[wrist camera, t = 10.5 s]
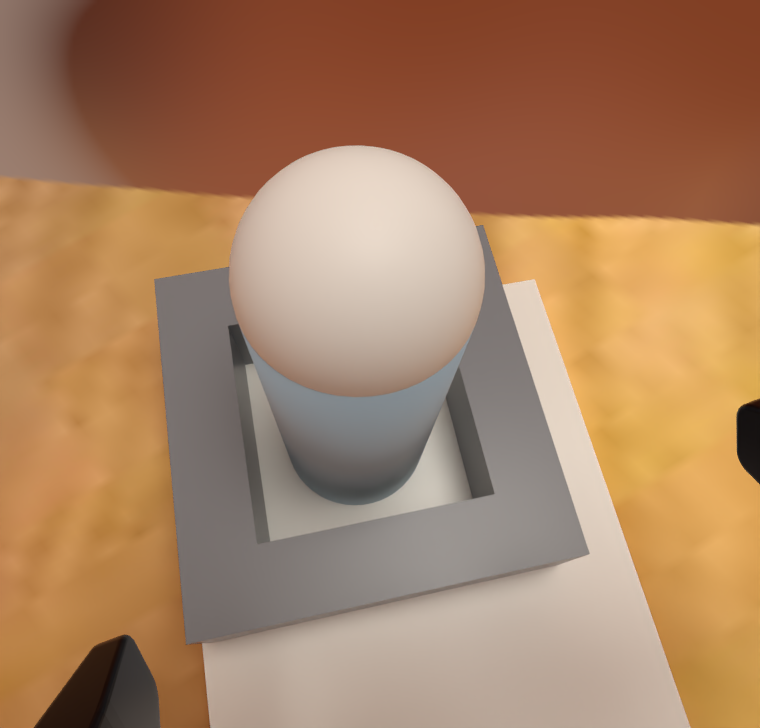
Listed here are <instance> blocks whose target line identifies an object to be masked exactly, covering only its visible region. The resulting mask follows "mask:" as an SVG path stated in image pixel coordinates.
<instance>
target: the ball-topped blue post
mask: <svg viewBox="0 0 760 728" xmlns="http://www.w3.org/2000/svg"><path fill="white" fill-rule="evenodd" d="M229 287H230V295H231V300H232V304H233V308H234V311H235V315H236V319H237V321H238V324H239V327H240V329H241V332H242V334H243V337H244V340H245V342H246V345H247V347H248V350H249V353H250V355H251V358H252V361H253V363H254V366H255V368H256V371H257V374H258V376H259V379H260V381H261V384H262V387H263V389H264V392H265V395H266V397H267V400H268V402H269V405H270V408H271V410H272V413H273V415H274V418H275V421H276V423H277V426H278V428H279V431H280V434H281V436H282V439H283V442H284V444H285V447H286V449H287V452H288V455H289V457H290V460H291V462H292V465H293V467H294V469H295V471H296V472H297V474H298V476H299V477H300V478H301V480H302V481H303V482H304V483H305V484H306V485H307V486H308V487H309V488H310V489H311V490H312V491H314V492H315V493H317V494H318V495H319V496H321V497H323V498H325V499H327V500H330V501H333V502H336V503H340V504H345V505H364V504H370V503H374V502H377V501H380V500H382V499H384V498H387V497H389V496H390V495H392V494H393V493H395V492H396V491H398V490H399V489H400V488H401V487H402V486H403V485H404V484H405V483H406V482H407V481H408V480H409V479H410V477H411V476H412V474H413V473H414V471H415V469H416V467H417V465H418V463H419V460H420V458H421V455H422V453H423V451H424V448H425V446H426V443H427V441H428V439H429V436H430V434H431V431H432V429H433V426H434V424H435V422H436V419H437V417H438V414H439V412H440V410H441V407H442V405H443V402H444V400H445V397H446V395H447V393H448V390H449V388H450V385H451V383H452V380H453V378H454V376H455V373H456V371H457V368H458V366H459V364H460V361H461V359H462V356H463V354H464V351H465V349H466V347H467V344H468V342H469V339H470V337H471V334H472V332H473V330H474V327H475V325H476V322H477V319H478V316H479V312H480V309H481V305H482V301H483V295H484V289H485V263H484V256H483V249H482V246H481V242H480V239H479V235H478V232H477V228H476V226H475V224H474V222H473V220H472V217H471V215H470V214H469V212H468V210H467V209H466V207H465V206H464V204H463V202H462V201H461V199H460V198H459V197H458V195H457V194H456V193H455V191H454V190H453V189H452V188H451V187H450V186H449V185H448V184H447V183H446V182H445V181H444V180H443V179H442V178H440V176H438V175H437V174H436V173H435V172H433V171H432V170H431V169H429V168H428V167H426V166H425V165H423V164H422V163H420V162H418V161H416V160H414V159H413V158H410V157H408V156H406V155H403V154H401V153H398V152H395V151H391V150H388V149H383V148H377V147H371V146H342V147H334V148H330V149H325V150H321V151H318V152H315V153H312V154H309V155H307V156H305V157H303V158H301V159H298V160H296V161H294V162H293V163H291V164H290V165H288V166H287V167H285V168H284V169H282V170H281V171H280V172H278V173H277V174H276V175H275V176H274V177H272V178H271V179H270V180H269V181H268V182H267V183H266V184H265V185H264V186H263V187H262V188H261V189H260V190H259V191H258V193H257V194H256V196H255V197H254V198H253V200H252V201H251V203H250V204H249V206H248V207H247V209H246V210H245V212H244V214H243V216H242V218H241V220H240V222H239V225H238V228H237V231H236V234H235V237H234V240H233V243H232V248H231V254H230V263H229Z"/></svg>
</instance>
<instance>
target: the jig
mask: <svg viewBox="0 0 760 728" xmlns="http://www.w3.org/2000/svg"><path fill="white" fill-rule="evenodd" d="M476 228H477V232H478V235H479V239H480V242H481V246H482V249H483V256H484V263H485V289H484V295H483V301H482V305H481V309H480V312H479V316H478V319H477V322H476V325H475V327H474V330H473V332H472V334H471V337H470V339H469V342H468V344H467V347H466V349H465V351H464V354H463V356H462V359H461V361H460V364H459V366H458V368H457V371H456V373H455V376H454V378H453V380H452V383H451V385H450V388H449V390H448V393H447V395H446V397H445V400H444V402H443V405H442V407H441V410H440V412H439V414H438V417H437V419H436V422H435V424H434V426H433V429H432V431H431V434H430V436H429V439H428V441H427V443H426V446H425V448H424V451H423V453H422V455H421V458H420V460H419V463H418V465H417V467H416V469H415V471H414V473H413V474H412V476H411V477H410V479H409V480H408V481H407V482H406V483H405V484H404V485H403V486H402V487H401V488H400V489H399V490H398V491H396V492H395V493H393V494H392V495H390V496H389V497H387V498H384V499H382V500H380V501H377V502H374V503H370V504H364V505H345V504H340V503H336V502H333V501H330V500H327V499H325V498H323V497H321V496H319V495H318V494H317V493H315V492H314V491H312V490H311V489H310V488H309V487H308V486H307V485H306V484H305V483H304V482H303V481H302V480H301V478H300V477H299V476H298V474H297V472H296V471H295V469H294V467H293V465H292V462H291V460H290V457H289V455H288V452H287V449H286V447H285V444H284V442H283V439H282V436H281V434H280V431H279V428H278V426H277V423H276V421H275V418H274V415H273V413H272V410H271V408H270V405H269V402H268V400H267V397H266V395H265V392H264V389H263V387H262V384H261V381H260V379H259V376H258V374H257V371H256V368H255V366H254V363H253V361H252V358H251V355H250V353H249V350H248V347H247V345H246V342H245V340H244V337H243V334H242V332H241V329H240V327H239V324H238V321H237V319H236V315H235V311H234V308H233V304H232V300H231V295H230V287H229V267H226V268H220V269H214V270H208V271H202V272H196V273H190V274H184V275H178V276H172V277H166V278H160V279H154V281H155V293H156V304H157V316H158V327H159V339H160V350H161V362H162V373H163V385H164V396H165V408H166V419H167V431H168V442H169V454H170V465H171V476H172V488H173V499H174V511H175V522H176V534H177V545H178V557H179V568H180V580H181V591H182V603H183V614H184V626H185V637H186V645H188V644H201V643H202V647H203V657H204V667H205V678H206V688H207V699H208V709H209V719H210V728H691V727H690V725H689V722H688V719H687V716H686V713H685V710H684V707H683V704H682V702H681V699H680V696H679V693H678V690H677V687H676V684H675V681H674V679H673V676H672V673H671V670H670V667H669V664H668V661H667V658H666V656H665V653H664V650H663V647H662V644H661V641H660V638H659V635H658V633H657V630H656V627H655V624H654V621H653V618H652V615H651V612H650V610H649V607H648V604H647V601H646V598H645V595H644V592H643V590H642V587H641V584H640V581H639V578H638V575H637V572H636V569H635V567H634V564H633V561H632V558H631V555H630V552H629V549H628V546H627V544H626V541H625V538H624V535H623V532H622V529H621V526H620V523H619V521H618V518H617V515H616V512H615V509H614V506H613V503H612V500H611V498H610V495H609V492H608V489H607V486H606V483H605V480H604V477H603V475H602V472H601V469H600V466H599V463H598V460H597V457H596V454H595V452H594V449H593V446H592V443H591V440H590V437H589V434H588V431H587V429H586V426H585V423H584V420H583V417H582V414H581V411H580V408H579V406H578V403H577V400H576V397H575V394H574V391H573V388H572V385H571V383H570V380H569V377H568V374H567V371H566V368H565V365H564V362H563V360H562V357H561V354H560V351H559V348H558V345H557V342H556V339H555V337H554V334H553V331H552V328H551V325H550V322H549V319H548V316H547V314H546V311H545V308H544V305H543V302H542V299H541V296H540V293H539V291H538V288H537V285H536V282H535V279H533V280H527V281H522V282H516V283H510V284H505V285H502V282H501V279H500V276H499V273H498V270H497V267H496V264H495V261H494V257H493V254H492V251H491V248H490V245H489V242H488V239H487V236H486V233H485V230H484V227H483V225H480V226H476Z"/></svg>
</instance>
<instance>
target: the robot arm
mask: <svg viewBox="0 0 760 728" xmlns="http://www.w3.org/2000/svg"><path fill="white" fill-rule="evenodd" d="M736 418H737V455H738V459H739V461H740V463H741V465H742V466H743V468H744V469H745V470H746V471H747V472H748V473H749V474H750V475H751V476H752V477H753V478H754V479H755V480H756V481H757V482H758V483H759V484H760V399H757V400H754V401H752V402H749V403H746V404H744V405H742V406H741V407H740V408H739V409H738V412H737V417H736ZM34 728H160V714H159V699H158V691H157V687H156V683H155V680H154V678H153V676H152V674H151V672H150V670H149V668H148V666H147V664H146V662H145V660H144V659H143V657H142V655H141V653H140V651H139V649H138V647H137V645H136V643H135V642H134V640H133V639H132V638H131V637H130V636H128V635H121V636H118V637H116V638H113V639H110V640H107V641H105V642H102V643H100V644H97V645H96V646H94V647H93V649H92V650H91V651H90V652H89V654H88V655H87V656H86V658H85V659H84V660H83V662H82V663H81V664H80V666H79V667H78V668H77V670H76V671H75V673H74V674H73V675H72V677H71V678H70V679H69V681H68V682H67V683H66V685H65V686H64V687H63V689H62V690H61V691H60V693H59V694H58V696H57V697H56V698H55V700H54V701H53V702H52V704H51V705H50V706H49V708H48V709H47V710H46V712H45V713H44V715H43V716H42V717H41V719H40V720H39V721H38V723H37V724H36V725H35V727H34Z"/></svg>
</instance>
